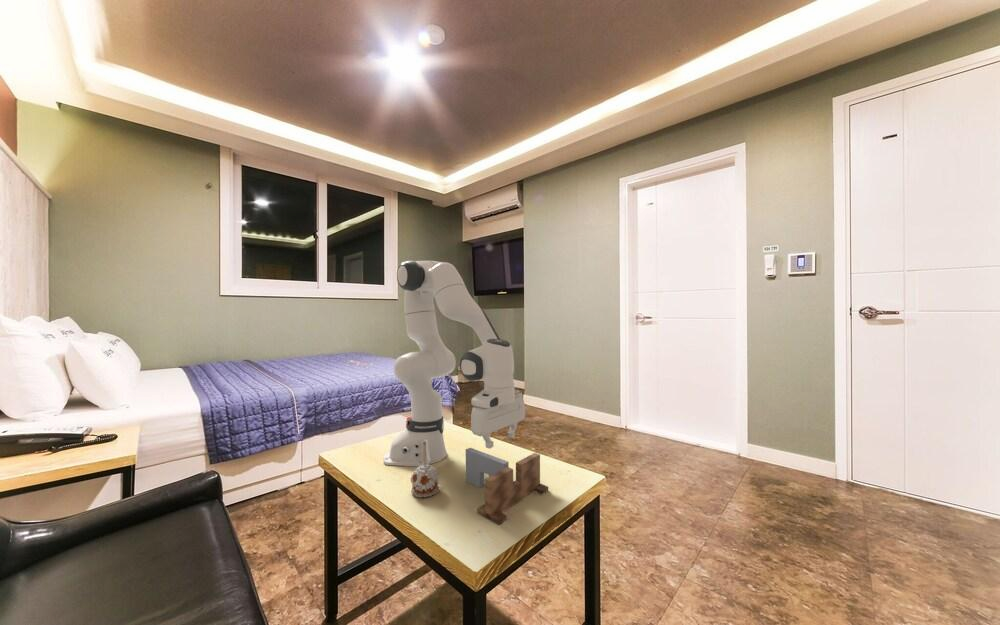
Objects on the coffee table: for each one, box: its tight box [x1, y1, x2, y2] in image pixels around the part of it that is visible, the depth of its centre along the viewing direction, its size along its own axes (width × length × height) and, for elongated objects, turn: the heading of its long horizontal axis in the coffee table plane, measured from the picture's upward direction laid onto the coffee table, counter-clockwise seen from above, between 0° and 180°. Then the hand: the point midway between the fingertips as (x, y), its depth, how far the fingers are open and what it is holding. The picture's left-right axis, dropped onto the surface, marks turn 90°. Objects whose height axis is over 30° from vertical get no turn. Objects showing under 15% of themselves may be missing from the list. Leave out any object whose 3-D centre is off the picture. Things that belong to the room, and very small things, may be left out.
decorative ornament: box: [410, 442, 440, 498], centre depth 106 cm, size 8×8×15 cm
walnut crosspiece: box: [476, 452, 549, 526], centre depth 100 cm, size 22×8×10 cm, turn 139°
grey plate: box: [465, 447, 510, 488], centre depth 107 cm, size 16×2×10 cm, turn 49°
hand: (500, 442), depth 103 cm, fingers open, 8 cm apart
